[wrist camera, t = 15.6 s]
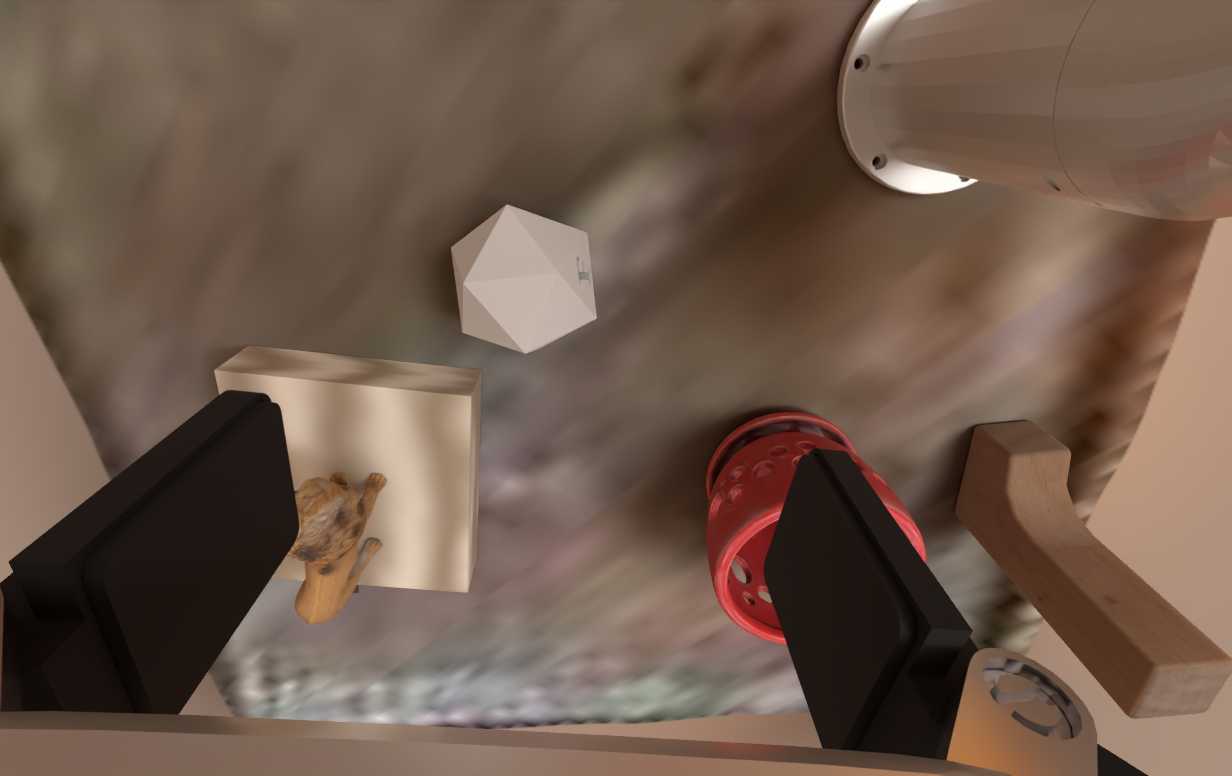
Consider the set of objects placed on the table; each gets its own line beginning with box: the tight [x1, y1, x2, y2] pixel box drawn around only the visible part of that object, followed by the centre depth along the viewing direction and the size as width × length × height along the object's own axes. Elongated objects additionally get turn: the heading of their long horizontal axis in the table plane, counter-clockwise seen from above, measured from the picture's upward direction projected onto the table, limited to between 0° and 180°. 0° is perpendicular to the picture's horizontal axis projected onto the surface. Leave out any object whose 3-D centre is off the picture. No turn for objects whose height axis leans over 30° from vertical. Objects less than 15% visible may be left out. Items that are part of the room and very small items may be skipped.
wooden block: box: [955, 421, 1232, 719], centre depth 38 cm, size 9×4×18 cm, turn 5°
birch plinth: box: [214, 345, 482, 593], centre depth 42 cm, size 16×18×4 cm
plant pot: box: [706, 412, 926, 644], centre depth 40 cm, size 13×13×12 cm
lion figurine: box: [286, 473, 387, 625], centre depth 37 cm, size 15×5×9 cm, turn 172°
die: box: [451, 205, 597, 354], centre depth 34 cm, size 8×9×10 cm
